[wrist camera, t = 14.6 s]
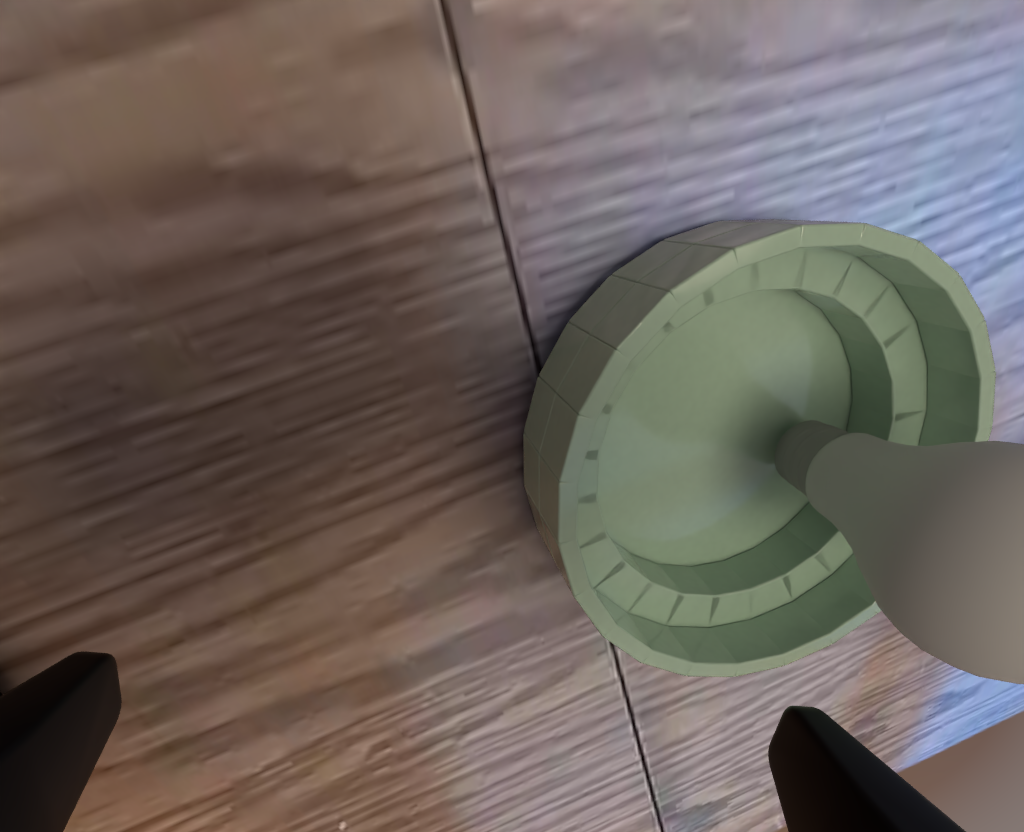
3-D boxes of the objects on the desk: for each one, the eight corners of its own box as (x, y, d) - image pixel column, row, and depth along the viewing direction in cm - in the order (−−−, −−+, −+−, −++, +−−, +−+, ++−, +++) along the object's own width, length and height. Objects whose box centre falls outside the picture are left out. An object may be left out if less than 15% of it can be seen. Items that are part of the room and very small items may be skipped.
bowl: (573, 650, 24) (617, 741, 20) (463, 302, 18) (493, 330, 14) (885, 518, 26) (983, 577, 22) (877, 163, 20) (1011, 152, 16)
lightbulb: (705, 517, 23) (977, 764, 13) (736, 365, 21) (1088, 517, 11) (834, 509, 24) (1169, 725, 14) (875, 367, 22) (1297, 502, 12)
